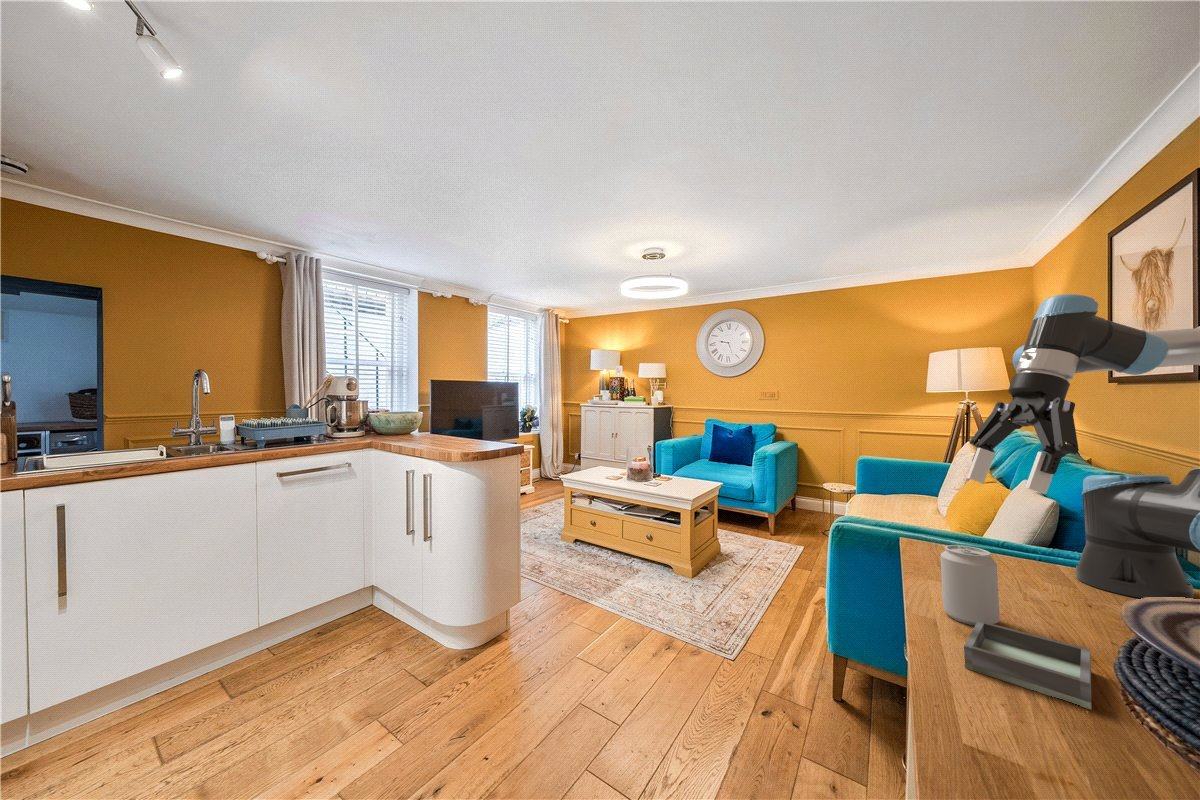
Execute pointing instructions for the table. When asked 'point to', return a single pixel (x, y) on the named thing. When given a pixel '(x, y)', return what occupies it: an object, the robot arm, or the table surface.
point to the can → (969, 585)
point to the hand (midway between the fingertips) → (1002, 485)
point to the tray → (1030, 662)
